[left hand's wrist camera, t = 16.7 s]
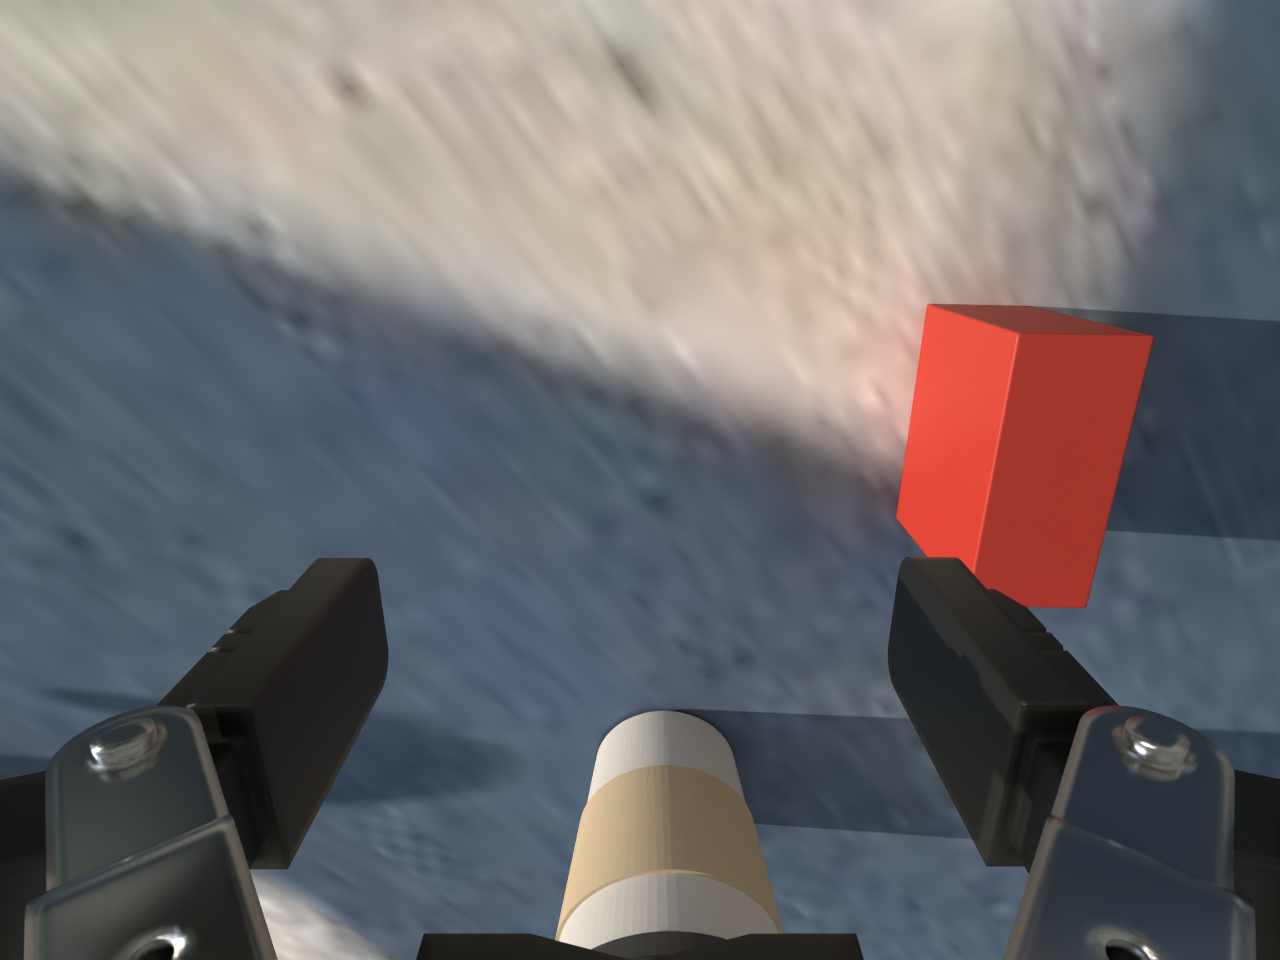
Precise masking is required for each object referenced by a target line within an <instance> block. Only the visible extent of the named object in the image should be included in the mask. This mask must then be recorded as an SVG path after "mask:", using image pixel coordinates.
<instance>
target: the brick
mask: <svg viewBox="0 0 1280 960" xmlns="http://www.w3.org/2000/svg"><path fill="white" fill-rule="evenodd" d="M1153 339H1154V338H1153V336H1151V335H1148V334H1143V333H1139V332H1135V331H1131V330H1127V329H1123V328H1118V327H1114V326H1110V325H1106V324H1102V323H1098V322H1093V321H1089V320H1085V319H1081V318H1077V317H1073V316H1068V315H1064V314H1060V313H1056V312H1052V311H1048V310H1043V309H1039V308H1035V307H1031V306H1005V305H955V304H929V305H928V306H927V311H926V318H925V324H924V331H923V338H922V345H921V352H920V359H919V365H918V372H917V379H916V386H915V393H914V400H913V407H912V413H911V420H910V427H909V434H908V441H907V448H906V454H905V461H904V468H903V475H902V482H901V489H900V496H899V502H898V509H897V516H896V518H897V520H898V521H899V522H900V523H901V524H902V526H903V527H904V528H905V529H906V531H907V532H908V533H909V534H910V536H911V537H912V538H913V539H914V540H915V542H916V543H917V544H918V545H919V547H920V548H921V549H922V550H923V552H924V553H925V554H926V555H927V557H957V558H959V559H960V560H961V561H962V562H963V563H964V564H965V565H966V566H967V567H968V568H969V570H970V571H971V572H972V573H973V574H974V575H975V576H976V578H977V579H978V580H979V581H980V582H981V583H982V584H983V585H984V587H985V588H986V589H996V590H998V591H999V592H1001V593H1003V594H1004V595H1006V596H1008V597H1010V598H1011V599H1013V600H1015V601H1016V602H1018V603H1020V604H1022V605H1023V606H1025V607H1060V608H1086V606H1087V602H1088V598H1089V594H1090V590H1091V586H1092V582H1093V578H1094V574H1095V570H1096V566H1097V562H1098V558H1099V554H1100V550H1101V546H1102V542H1103V538H1104V534H1105V530H1106V526H1107V522H1108V518H1109V514H1110V510H1111V506H1112V502H1113V498H1114V494H1115V490H1116V486H1117V483H1118V479H1119V475H1120V471H1121V467H1122V463H1123V459H1124V455H1125V451H1126V447H1127V443H1128V439H1129V435H1130V431H1131V427H1132V423H1133V419H1134V415H1135V411H1136V407H1137V403H1138V399H1139V395H1140V391H1141V387H1142V383H1143V379H1144V375H1145V371H1146V367H1147V363H1148V359H1149V355H1150V351H1151V347H1152V343H1153Z"/></svg>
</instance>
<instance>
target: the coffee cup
mask: <svg viewBox="0 0 1280 960" xmlns="http://www.w3.org/2000/svg"><path fill="white" fill-rule="evenodd" d="M747 934H784V931H783V928H782V924H781V920H780V916H779V913H778V909H777V905H776V902H775V898H774V894H773V891H772V887H771V883H770V880H769V876H768V872H767V869H766V865H765V861H764V857H763V854H762V850H761V846H760V843H759V839H758V835H757V832H756V828H755V824H754V821H753V817H752V815H751V812H750V810H749V808H748V806H747V805H746V803H745V799H744V795H743V791H742V787H741V783H740V780H739V776H738V772H737V768H736V764H735V760H734V756H733V753H732V750H731V748H730V746H729V744H728V742H727V741H726V739H725V738H724V737H723V736H722V735H721V733H720V732H719V731H718V730H716V729H715V728H714V727H713V726H711V725H710V724H708V723H707V722H705V721H703V720H701V719H699V718H697V717H694V716H692V715H689V714H685V713H680V712H674V711H654V712H648V713H643V714H640V715H636V716H634V717H631V718H629V719H627V720H625V721H623V722H622V723H620V724H619V725H617V726H616V727H615V728H614V729H613V730H611V732H610V733H609V734H608V735H607V736H606V737H605V739H604V740H603V742H602V744H601V746H600V748H599V751H598V754H597V758H596V763H595V768H594V773H593V778H592V783H591V788H590V793H589V798H588V803H587V805H586V807H585V808H584V811H583V813H582V816H581V820H580V825H579V830H578V835H577V839H576V844H575V849H574V854H573V858H572V863H571V868H570V873H569V877H568V882H567V887H566V892H565V896H564V901H563V906H562V911H561V915H560V920H559V925H558V930H557V934H556V939H555V940H556V941H560V942H564V943H568V944H572V945H576V946H580V947H583V948H587V949H591V950H595V951H599V952H603V953H607V954H611V955H614V956H618V957H622V958H626V959H631V960H649V959H654V958H658V957H662V956H666V955H669V954H673V953H677V952H681V951H685V950H689V949H693V948H697V947H700V946H704V945H708V944H712V943H716V942H720V941H724V940H727V939H731V938H735V937H739V936H743V935H747Z"/></svg>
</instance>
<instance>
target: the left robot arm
mask: <svg viewBox="0 0 1280 960" xmlns="http://www.w3.org/2000/svg"><path fill="white" fill-rule="evenodd" d="M888 665H889V672H890V677H891V681H892V684H893V686H894V689H895V691H896V693H897V694H898V696H899V698H900V700H901V702H902V704H903V706H904V708H905V710H906V712H907V714H908V716H909V718H910V720H911V721H912V723H913V725H914V727H915V729H916V731H917V733H918V735H919V737H920V739H921V741H922V743H923V745H924V747H925V749H926V750H927V752H928V754H929V756H930V758H931V760H932V762H933V764H934V766H935V768H936V770H937V772H938V774H939V776H940V777H941V779H942V781H943V783H944V785H945V787H946V789H947V791H948V793H949V795H950V797H951V799H952V801H953V803H954V804H955V806H956V808H957V810H958V812H959V814H960V816H961V818H962V820H963V822H964V824H965V826H966V828H967V830H968V831H969V833H970V835H971V837H972V839H973V841H974V843H975V845H976V847H977V849H978V851H979V853H980V855H981V857H982V858H983V860H984V862H985V864H986V866H1025V868H1026V870H1027V872H1028V873H1029V876H1028V880H1027V883H1026V886H1025V889H1024V892H1023V896H1022V899H1021V902H1020V905H1019V908H1018V912H1017V915H1016V918H1015V921H1014V924H1013V928H1012V931H1011V934H1010V937H1009V940H1008V943H1007V947H1006V950H1005V953H1004V956H1003V959H1002V960H1280V779H1276V778H1271V777H1267V776H1262V775H1257V774H1252V773H1247V772H1242V771H1237V770H1234V769H1233V767H1232V764H1231V762H1230V761H1229V759H1228V758H1227V756H1226V755H1225V754H1224V753H1223V752H1222V751H1221V750H1220V749H1219V748H1218V747H1217V746H1216V745H1215V744H1214V743H1213V742H1212V741H1210V740H1209V739H1208V738H1207V737H1205V736H1203V735H1202V734H1200V733H1199V732H1197V731H1196V730H1194V729H1192V728H1190V727H1189V726H1187V725H1185V724H1183V723H1181V722H1179V721H1176V720H1174V719H1172V718H1170V717H1167V716H1164V715H1161V714H1159V713H1155V712H1152V711H1148V710H1145V709H1140V708H1135V707H1128V706H1119V705H1118V704H1117V703H1116V702H1115V701H1114V700H1113V699H1112V698H1111V697H1110V695H1109V694H1108V693H1107V692H1106V691H1105V690H1104V689H1103V688H1102V687H1101V686H1100V685H1099V684H1098V683H1097V682H1096V681H1095V680H1094V678H1093V677H1092V676H1091V675H1090V674H1089V673H1088V672H1087V671H1086V670H1085V669H1084V668H1083V667H1082V666H1081V665H1080V664H1079V663H1078V662H1077V660H1076V659H1075V658H1074V657H1073V656H1072V655H1071V654H1070V653H1069V652H1068V651H1063V646H1062V645H1061V643H1060V642H1059V641H1058V640H1057V639H1056V638H1055V637H1054V636H1053V635H1052V634H1051V633H1047V632H1046V628H1045V627H1044V625H1043V624H1042V623H1041V622H1040V621H1039V620H1038V619H1037V618H1036V617H1035V616H1034V615H1033V614H1032V613H1031V612H1030V611H1029V610H1028V609H1027V607H1025V606H1023V605H1022V604H1020V603H1018V602H1016V601H1015V600H1013V599H1011V598H1010V597H1008V596H1006V595H1004V594H1003V593H1001V592H999V591H998V590H996V589H986V588H985V587H984V585H983V584H982V583H981V582H980V581H979V580H978V579H977V578H976V576H975V575H974V574H973V573H972V572H971V571H970V570H969V568H968V567H967V566H966V565H965V564H964V563H963V562H962V561H961V560H960V559H959V558H957V557H906V558H905V559H904V560H903V561H902V563H901V565H900V569H899V573H898V580H897V587H896V594H895V601H894V608H893V615H892V623H891V630H890V637H889V644H888ZM387 668H388V644H387V637H386V630H385V623H384V616H383V609H382V602H381V595H380V588H379V581H378V574H377V570H376V567H375V564H374V562H373V561H372V560H371V559H369V558H319V559H317V560H316V561H314V562H313V564H312V565H311V566H310V567H309V568H308V569H307V570H306V571H305V572H304V574H303V575H302V576H301V577H300V578H299V579H298V580H297V581H296V583H295V584H294V585H293V586H292V587H291V588H290V589H289V590H280V591H278V592H277V593H275V594H273V595H271V596H270V597H268V598H266V599H265V600H263V601H261V602H259V603H258V604H256V605H254V606H252V607H251V608H249V609H248V610H247V611H246V612H245V613H244V614H243V615H242V616H241V617H240V618H239V620H238V621H237V622H236V623H235V624H234V625H233V626H232V627H231V628H230V629H229V633H228V634H224V635H223V636H222V637H221V638H220V639H219V641H218V642H217V643H216V644H215V645H214V646H213V647H212V651H211V652H207V653H206V654H205V655H204V656H203V657H202V658H201V659H200V660H199V662H198V663H197V664H196V665H195V666H194V667H193V668H192V669H191V670H190V671H189V672H188V673H187V674H186V675H185V676H184V677H183V678H182V679H181V680H180V682H179V683H178V684H177V685H176V686H175V687H174V688H173V689H172V690H171V691H170V692H169V693H168V694H167V695H166V696H165V697H164V698H163V699H162V700H161V701H160V703H159V704H158V705H157V706H152V707H145V708H140V709H135V710H132V711H128V712H125V713H121V714H119V715H116V716H113V717H110V718H108V719H106V720H104V721H101V722H99V723H97V724H95V725H93V726H91V727H90V728H88V729H86V730H84V731H83V732H81V733H80V734H78V735H77V736H75V737H73V738H72V739H71V740H70V741H68V742H67V743H66V744H65V745H64V746H63V747H62V748H61V749H60V750H59V751H58V752H57V753H56V754H55V755H54V756H53V758H52V759H51V761H50V762H49V764H48V767H47V769H46V771H42V772H38V773H33V774H28V775H24V776H19V777H14V778H9V779H4V780H0V960H278V959H277V956H276V953H275V950H274V947H273V943H272V940H271V937H270V934H269V931H268V928H267V924H266V921H265V918H264V915H263V912H262V908H261V905H260V902H259V899H258V896H257V892H256V889H255V886H254V883H253V880H252V876H251V873H250V870H249V869H288V868H289V866H290V864H291V862H292V860H293V858H294V856H295V854H296V852H297V850H298V849H299V847H300V845H301V843H302V841H303V839H304V837H305V835H306V833H307V831H308V829H309V828H310V826H311V824H312V822H313V820H314V818H315V816H316V814H317V812H318V810H319V809H320V807H321V805H322V803H323V801H324V799H325V797H326V795H327V793H328V791H329V789H330V788H331V786H332V784H333V782H334V780H335V778H336V776H337V774H338V772H339V770H340V768H341V767H342V765H343V763H344V761H345V759H346V757H347V755H348V753H349V751H350V749H351V748H352V746H353V744H354V742H355V740H356V738H357V736H358V734H359V732H360V730H361V728H362V727H363V725H364V723H365V721H366V719H367V717H368V715H369V713H370V711H371V709H372V708H373V706H374V704H375V702H376V700H377V698H378V696H379V694H380V692H381V690H382V688H383V685H384V683H385V679H386V674H387ZM416 960H631V959H626V958H622V957H618V956H614V955H611V954H607V953H603V952H599V951H595V950H591V949H587V948H583V947H580V946H576V945H572V944H568V943H564V942H560V941H556V940H553V939H549V938H545V937H541V936H537V935H533V934H424V935H423V938H422V942H421V945H420V948H419V952H418V955H417V959H416ZM649 960H864V959H863V955H862V952H861V948H860V945H859V942H858V938H857V935H856V934H747V935H743V936H739V937H735V938H731V939H727V940H724V941H720V942H716V943H712V944H708V945H704V946H700V947H697V948H693V949H689V950H685V951H681V952H677V953H673V954H669V955H666V956H662V957H658V958H654V959H649Z"/></svg>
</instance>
